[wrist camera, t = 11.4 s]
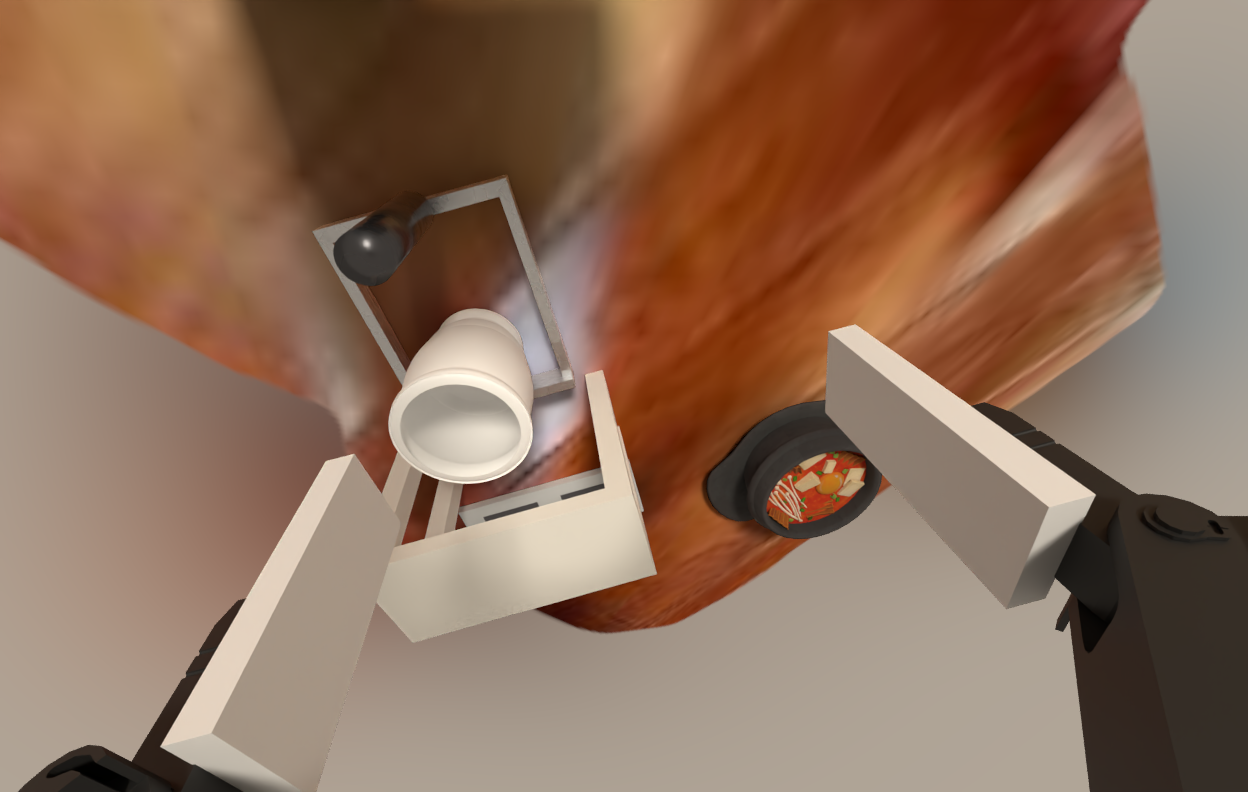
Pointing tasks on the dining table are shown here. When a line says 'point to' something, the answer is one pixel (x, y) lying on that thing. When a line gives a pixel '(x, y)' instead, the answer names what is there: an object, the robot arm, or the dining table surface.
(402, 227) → the picture frame
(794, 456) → the casserole
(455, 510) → the open rectangular frame
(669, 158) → the dining table surface
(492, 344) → the jar
